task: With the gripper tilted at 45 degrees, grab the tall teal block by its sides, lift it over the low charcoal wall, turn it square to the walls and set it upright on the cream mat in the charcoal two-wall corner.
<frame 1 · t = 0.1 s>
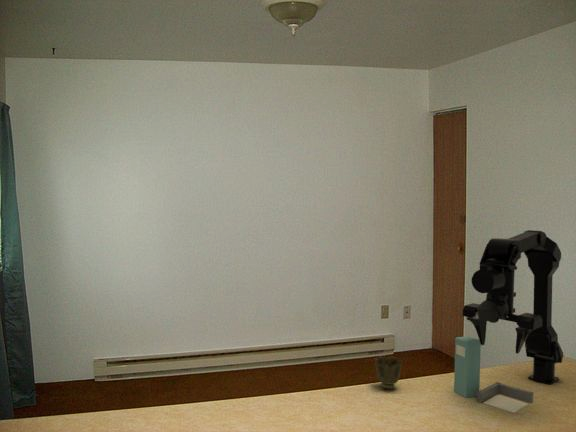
hand: (499, 349, 137), 15 cm above the table, tool pointing down, fingers open, 9 cm apart
cup: (387, 388, 149), on the table
teal block: (466, 393, 145), on the table
corner arena: (505, 404, 138), on the table
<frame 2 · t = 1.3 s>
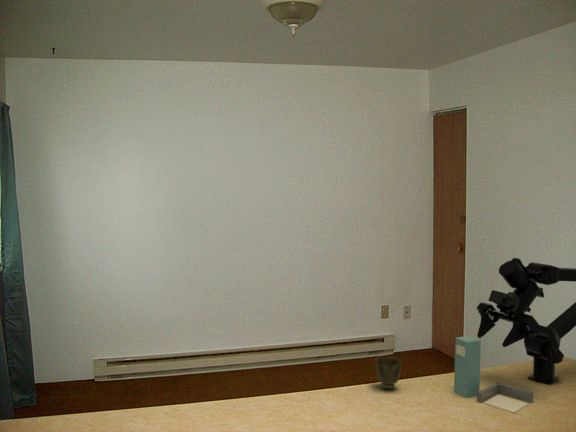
hand: (490, 341, 148), 13 cm above the table, tool tilted 45°, fingers open, 9 cm apart
nothing on the table moved.
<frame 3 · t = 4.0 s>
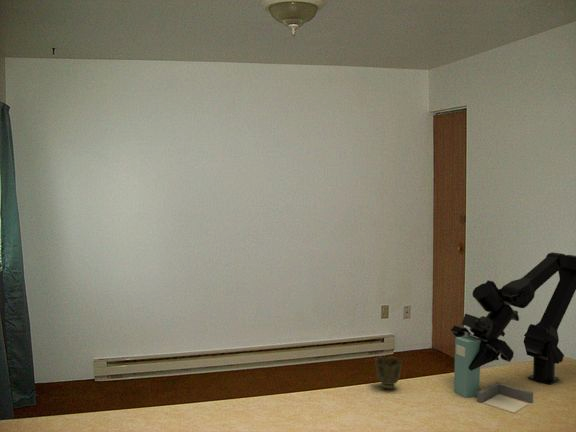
hand: (463, 366, 144), 8 cm above the table, tool tilted 45°, fingers closed on teal block, 5 cm apart
teal block: (466, 393, 145), on the table, touching gripper
everything else where it was.
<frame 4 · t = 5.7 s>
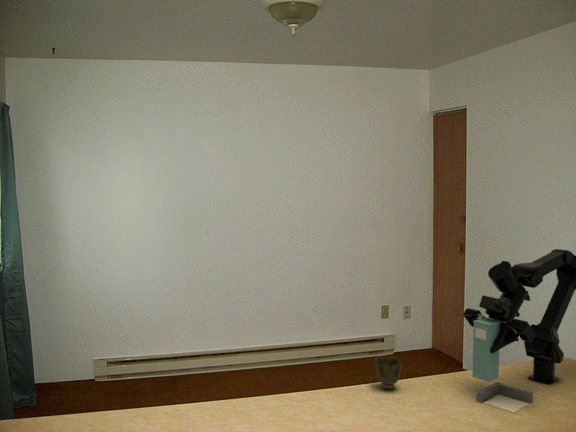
hand: (482, 350, 140), 13 cm above the table, tool tilted 45°, fingers closed on teal block, 5 cm apart
teal block: (485, 377, 141), point 6 cm above the table, touching gripper
everything else where it was.
when the fingers open (9 cm above the table, at t = 7.6 s): teal block drops 1 cm, resting on corner arena.
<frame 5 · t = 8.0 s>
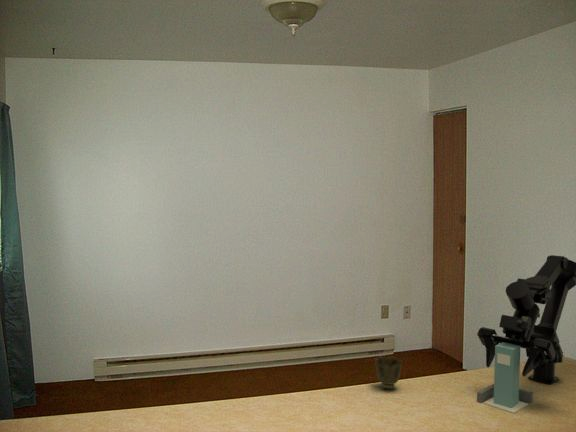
hand: (504, 371, 137), 9 cm above the table, tool tilted 45°, fingers open, 9 cm apart
teal block: (506, 403, 138), resting on corner arena
everything else where it was.
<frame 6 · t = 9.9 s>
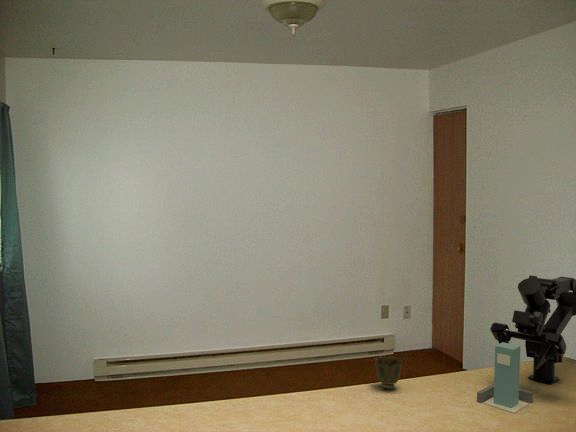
hand: (517, 364, 143), 9 cm above the table, tool tilted 45°, fingers open, 9 cm apart
nothing on the table moved.
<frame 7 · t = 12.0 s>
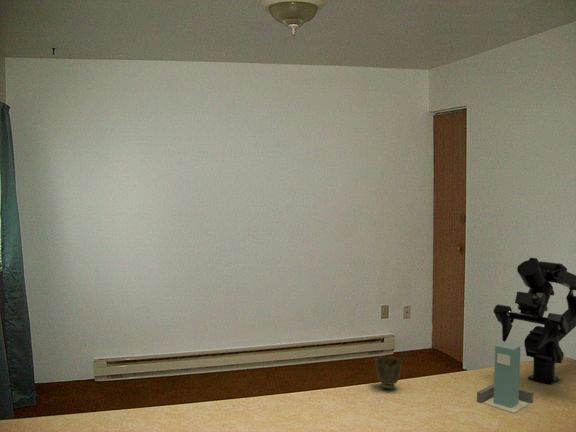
hand: (520, 344, 145), 14 cm above the table, tool tilted 45°, fingers open, 9 cm apart
nothing on the table moved.
at the end: teal block 0.0 cm off-centre on the corner arena, point 0.3 cm above the corner arena's base; teal block tilted 0°; the gripper is holding nothing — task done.
